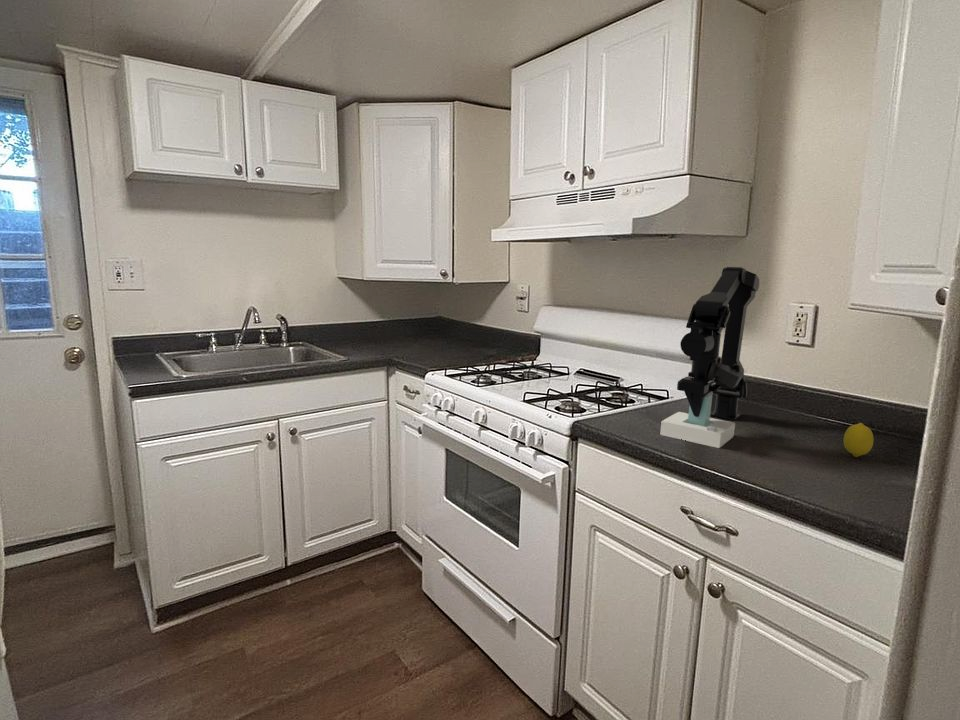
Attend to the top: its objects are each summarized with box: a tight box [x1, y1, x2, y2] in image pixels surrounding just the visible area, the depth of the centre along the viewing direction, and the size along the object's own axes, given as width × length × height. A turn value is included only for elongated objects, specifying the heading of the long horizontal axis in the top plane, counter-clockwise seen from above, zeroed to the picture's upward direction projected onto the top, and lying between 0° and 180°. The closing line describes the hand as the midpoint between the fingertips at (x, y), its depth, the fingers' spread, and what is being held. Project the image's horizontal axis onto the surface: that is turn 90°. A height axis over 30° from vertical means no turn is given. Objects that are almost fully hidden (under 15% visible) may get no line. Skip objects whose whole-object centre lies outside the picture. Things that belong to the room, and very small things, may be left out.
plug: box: [688, 390, 713, 426], centre depth 136 cm, size 4×4×8 cm
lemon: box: [843, 422, 874, 458], centre depth 125 cm, size 6×6×8 cm
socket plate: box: [659, 411, 736, 449], centre depth 137 cm, size 12×14×4 cm
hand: (699, 414), depth 136 cm, fingers closed on plug, 4 cm apart
